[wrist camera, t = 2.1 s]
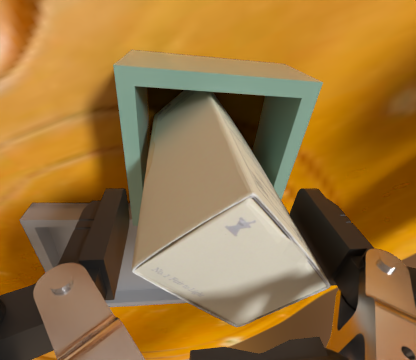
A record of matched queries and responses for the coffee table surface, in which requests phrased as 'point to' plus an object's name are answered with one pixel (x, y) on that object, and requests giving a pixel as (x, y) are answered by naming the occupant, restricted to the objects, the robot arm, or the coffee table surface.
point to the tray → (59, 237)
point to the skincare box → (217, 219)
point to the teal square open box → (215, 82)
